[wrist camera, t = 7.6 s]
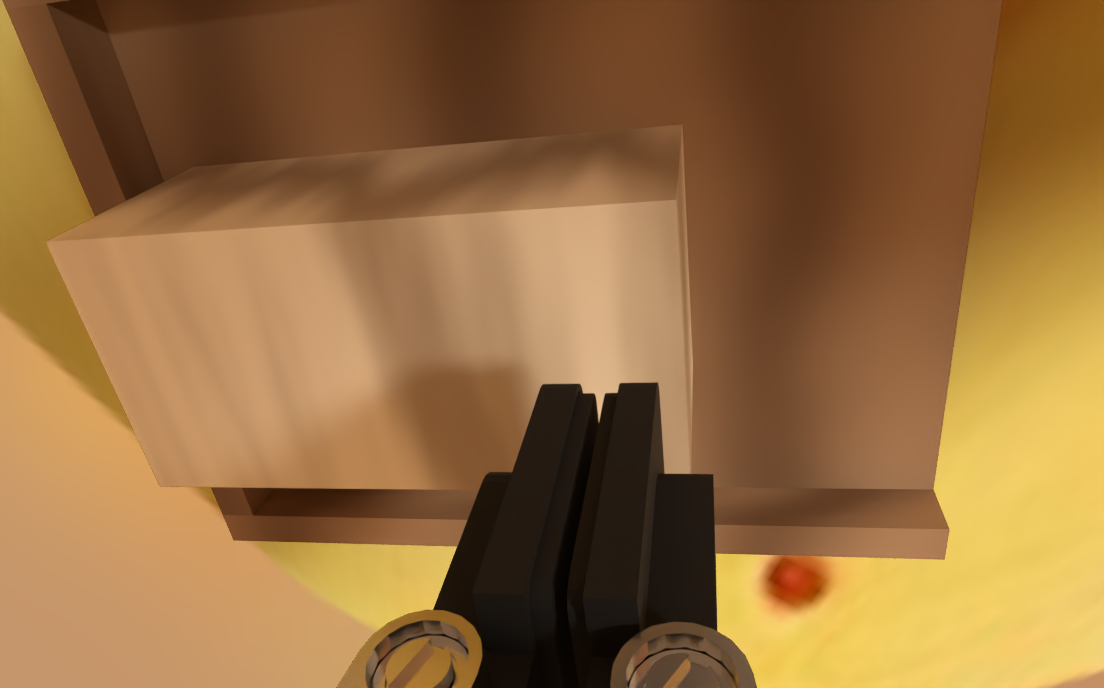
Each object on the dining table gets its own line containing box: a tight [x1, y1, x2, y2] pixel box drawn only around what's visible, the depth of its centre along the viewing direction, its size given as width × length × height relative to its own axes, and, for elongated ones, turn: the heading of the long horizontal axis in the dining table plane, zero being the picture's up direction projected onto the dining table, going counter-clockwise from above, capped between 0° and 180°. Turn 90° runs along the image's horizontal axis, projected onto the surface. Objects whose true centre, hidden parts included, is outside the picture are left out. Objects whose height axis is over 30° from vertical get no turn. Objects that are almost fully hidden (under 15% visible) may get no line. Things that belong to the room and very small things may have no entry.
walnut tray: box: [3, 0, 1003, 560], centre depth 19 cm, size 20×16×4 cm
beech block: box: [45, 125, 693, 490], centre depth 17 cm, size 5×6×12 cm
